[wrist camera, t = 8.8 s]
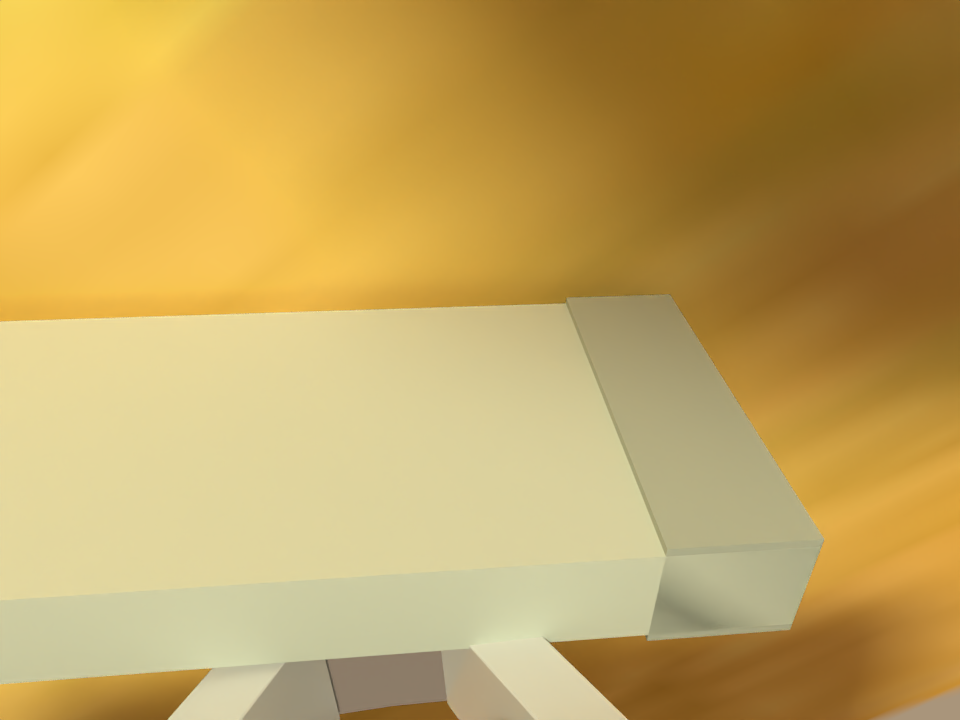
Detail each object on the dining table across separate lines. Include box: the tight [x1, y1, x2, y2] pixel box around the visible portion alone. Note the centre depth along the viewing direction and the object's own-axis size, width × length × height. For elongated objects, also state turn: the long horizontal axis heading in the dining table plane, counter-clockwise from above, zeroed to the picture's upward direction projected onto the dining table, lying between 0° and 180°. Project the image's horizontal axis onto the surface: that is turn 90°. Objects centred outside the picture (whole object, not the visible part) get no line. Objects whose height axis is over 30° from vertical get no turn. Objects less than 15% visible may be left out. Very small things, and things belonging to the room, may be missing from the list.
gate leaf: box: [0, 294, 824, 684], centre depth 9 cm, size 1×15×5 cm, turn 89°
